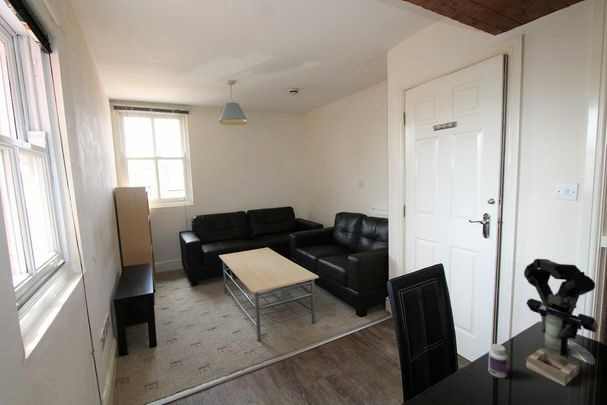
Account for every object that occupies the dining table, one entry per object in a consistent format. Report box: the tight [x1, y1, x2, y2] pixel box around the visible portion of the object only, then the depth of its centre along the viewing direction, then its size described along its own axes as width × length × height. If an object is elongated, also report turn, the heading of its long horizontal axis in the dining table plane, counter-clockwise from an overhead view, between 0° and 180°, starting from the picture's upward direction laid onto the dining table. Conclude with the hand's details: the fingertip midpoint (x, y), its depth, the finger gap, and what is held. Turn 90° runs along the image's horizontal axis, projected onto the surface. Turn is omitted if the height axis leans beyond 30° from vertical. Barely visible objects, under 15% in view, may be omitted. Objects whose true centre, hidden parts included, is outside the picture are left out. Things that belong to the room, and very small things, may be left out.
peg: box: [543, 315, 563, 356], centre depth 103 cm, size 4×4×12 cm
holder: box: [525, 347, 580, 387], centre depth 104 cm, size 11×11×4 cm
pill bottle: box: [487, 343, 508, 379], centre depth 104 cm, size 5×5×10 cm
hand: (551, 335), depth 103 cm, fingers closed on peg, 4 cm apart
